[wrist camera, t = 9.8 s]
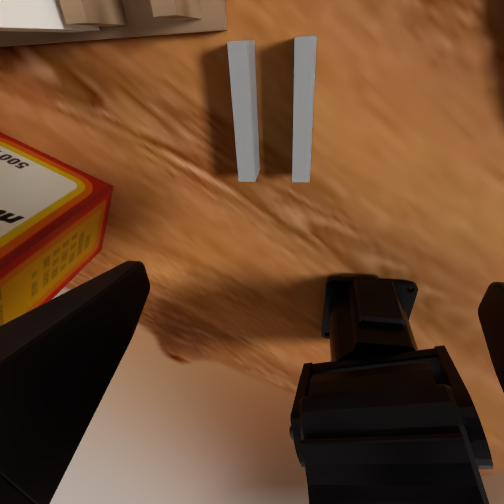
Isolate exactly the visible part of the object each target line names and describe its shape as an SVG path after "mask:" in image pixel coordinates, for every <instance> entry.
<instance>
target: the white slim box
mask: <svg viewBox="0 0 504 504" xmlns="http://www.w3.org/2000/svg"><path fill="white" fill-rule="evenodd" d="M97 30H100V29H99V26H92V25H71V24H66V21H65V18H64V14H63V11H62V8H61V5H60V2H59V0H0V31H26V32H84V31H97Z"/></svg>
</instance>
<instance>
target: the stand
mask: <svg viewBox="0 0 504 504" xmlns="http://www.w3.org/2000/svg"><path fill="white" fill-rule="evenodd" d="M316 41H317V36H305V37H295V44H294V103H293V162H292V182H310V162H311V142H312V122H313V102H314V82H315V61H316ZM227 47H228V59H229V71H230V83H231V95H232V107H233V119H234V131H235V143H236V155H237V167H238V179H239V182H255V181H256V178H257V176H258V174H259V171H260V159H259V135H258V112H257V88H256V65H255V41H254V40H245V41H231V42H227Z"/></svg>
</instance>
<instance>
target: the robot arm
mask: <svg viewBox="0 0 504 504" xmlns="http://www.w3.org/2000/svg"><path fill="white" fill-rule="evenodd" d="M330 283H335V284H330ZM411 287H412V288H411ZM408 288H411V289H408ZM149 291H150V282H149V279H148V276H147V273H146V269H145V266H144V264H143V263H142V262H140V261H126V262H124V263H122V264H120V265H118V266H117V267H115V268H113V269H111V270H109V271H107V272H105V273H103V274H101V275H99V276H97V277H95V278H93V279H91V280H89V281H87V282H85V283H83V284H81V285H79V286H77V287H76V288H74V289H72V290H70V291H68V292H66V293H64V294H62V295H60V296H58V297H56V298H54V299H52V300H50V301H48V302H46V303H44V304H42V305H40V306H38V307H36V308H35V309H33V310H31V311H29V312H27V313H25V314H23V315H21V316H19V317H17V318H15V319H13V320H11V321H9V322H7V323H5V324H3V325H1V326H0V504H50V502H51V499H52V498H53V495H54V494H55V491H56V489H57V487H58V485H59V483H60V481H61V479H62V477H63V475H64V473H65V471H66V469H67V467H68V465H69V463H70V461H71V459H72V457H73V455H74V453H75V451H76V449H77V447H78V445H79V443H80V441H81V439H82V437H83V435H84V433H85V431H86V429H87V427H88V425H89V423H90V421H91V419H92V417H93V415H94V413H95V411H96V409H97V407H98V405H99V403H100V401H101V399H102V397H103V395H104V393H105V391H106V389H107V387H108V385H109V383H110V381H111V379H112V377H113V375H114V373H115V371H116V369H117V367H118V365H119V363H120V361H121V359H122V357H123V355H124V353H125V351H126V349H127V347H128V345H129V343H130V341H131V339H132V336H133V334H134V332H135V329H136V326H137V324H138V321H139V318H140V316H141V313H142V310H143V308H144V305H145V302H146V299H147V297H148V294H149ZM417 292H418V287H417V285H416V283H414V282H412V281H397V280H380V279H363V278H346V277H330V278H328V279H327V281H326V289H325V299H324V309H323V319H322V329H321V334H322V336H323V337H324V338H329V339H330V351H331V362H324V363H316V364H312V363H305V364H304V365H303V369H302V373H301V375H300V380H299V384H298V388H297V392H296V396H295V400H294V404H293V408H292V412H291V426H290V436H291V438H292V439H293V440H294V444H295V449H296V453H297V456H298V459H299V462H300V464H301V465H302V467H303V468H304V469H305V470H306V476H307V483H308V494H309V504H489V501H488V498H487V495H486V492H485V489H484V486H483V483H482V479H481V476H480V473H479V470H478V469H493V463H492V458H491V454H490V450H489V447H488V443H487V440H486V437H485V434H484V431H483V428H482V425H481V422H480V419H479V417H478V414H477V412H476V409H475V406H474V404H473V402H472V399H471V397H470V395H469V393H468V391H467V389H466V387H465V385H464V383H463V381H462V379H461V377H460V375H459V373H458V371H457V369H456V367H455V365H454V363H453V361H452V360H451V358H450V356H449V354H448V352H447V350H446V348H445V346H444V345H443V346H435V347H434V348H433V349H425V350H418V349H417V345H416V342H415V339H414V336H413V333H412V330H411V327H410V324H409V321H408V320H409V317H410V314H411V311H412V308H413V304H414V301H415V298H416V295H417ZM478 316H479V320H480V323H481V326H482V330H483V333H484V336H485V340H486V343H487V347H488V350H489V353H490V357H491V360H492V363H493V366H494V369H495V372H496V375H497V377H498V380H499V382H500V385H501V387H502V389H503V392H504V282H493V283H491V284H490V285H489V287H488V289H487V291H486V293H485V295H484V297H483V299H482V301H481V303H480V305H479V308H478ZM326 332H328V333H326Z"/></svg>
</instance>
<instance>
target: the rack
mask: <svg viewBox="0 0 504 504" xmlns="http://www.w3.org/2000/svg"><path fill="white" fill-rule="evenodd" d="M59 2H60V5H61V8H62V11H63V14H64V18H65V21H66V24H71V25H92V26H99V29H100V30H97V31H84V32H26V31H0V47H7V46H21V45H34V44H48V43H61V42H75V41H88V40H102V39H115V38H129V37H143V36H156V35H170V34H183V33H197V32H210V31H224V30H228V29H227V17H226V5H225V0H59Z"/></svg>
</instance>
